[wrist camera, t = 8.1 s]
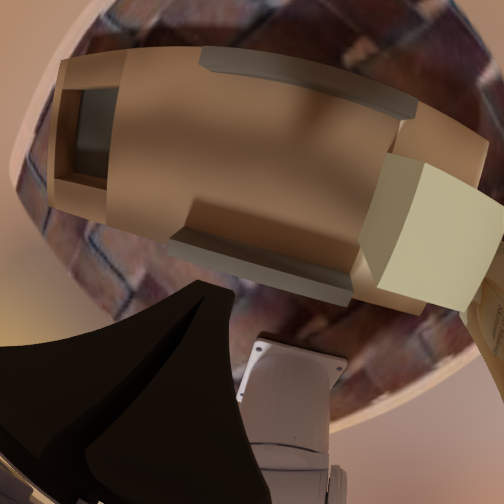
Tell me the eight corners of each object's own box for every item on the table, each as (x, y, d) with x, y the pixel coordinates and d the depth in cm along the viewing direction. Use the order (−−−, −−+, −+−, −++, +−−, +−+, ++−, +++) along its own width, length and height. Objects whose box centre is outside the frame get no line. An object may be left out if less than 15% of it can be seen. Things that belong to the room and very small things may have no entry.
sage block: (429, 264, 14) (464, 312, 9) (357, 240, 14) (376, 287, 10) (460, 186, 12) (511, 211, 7) (386, 152, 12) (425, 162, 7)
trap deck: (409, 295, 17) (428, 335, 13) (67, 197, 20) (30, 213, 16) (468, 139, 12) (508, 145, 8) (82, 63, 15) (42, 58, 11)
